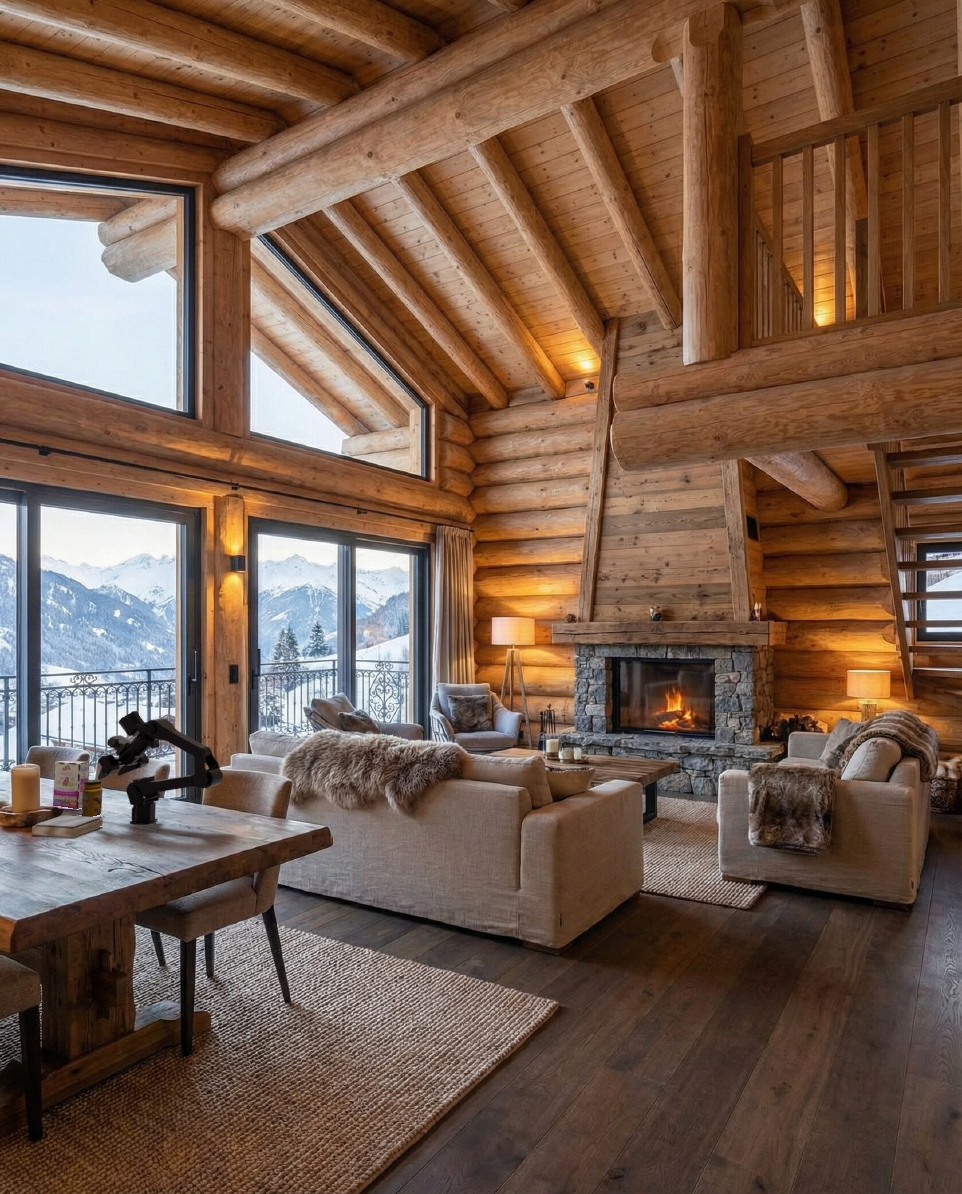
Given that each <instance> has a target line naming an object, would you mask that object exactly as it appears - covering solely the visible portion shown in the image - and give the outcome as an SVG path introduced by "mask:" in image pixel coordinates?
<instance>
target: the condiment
mask: <svg viewBox="0 0 962 1194" xmlns="http://www.w3.org/2000/svg"><path fill="white" fill-rule="evenodd" d="M102 805H103V788H102V780H98V779H89V780H87V781H85V782H84V789H83V798H82V810H81V815H82V816H83V817H93V816H97V815H100V814H101V815H102V809H103V807H102Z"/></svg>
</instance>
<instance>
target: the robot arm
mask: <svg viewBox="0 0 962 1194" xmlns="http://www.w3.org/2000/svg"><path fill="white" fill-rule="evenodd" d="M118 725H119V726H120V728H122V730H123V731H124V732H125V734H127V736H128V737H134V738H133V739H132V740H131V741H130V740H129V739H128V738H126V737H125V736H123V735H120V734H119V735H112V736H110V737H109V739H107V742H106V744H107V746H109V748H111V749H114V750H115V754H116V755H117V756H118V758H117V759H116V758H115V756H114V755H113V754H110V753H108V754H104V755H103V754H102V755H101V756H100V757H99V758H98V759H97V761H98V763H99V764H100V767H101V768H100V770H99V773H98V776H97V780H101V781H102V780H104V779H106V778H108V777H110V776H112V775H114V774H116V773H117V775H118V777H120V776H123V775H125V774H129V773H130V772H134V771H136V770H139V769H142V768H143V767H146V766H147V765H148V764H149V763H150V758H149V757H148V756H147V753H146V752H147V751H148V750H149V749H150V748H151V749H152V750H153V749H157V748H160V741H163V742H167V743H169V744H171V745H173V746H175V747H176V748H178V749H180V750H182V751H184V752H186V754H188V755H190V756H192V757H194V772H195V773H193V774H191V775H181V776H177V777H171V778H167V779H166V778H164V779H159V780H158V779H156V776H155V775H151V776H143V777H140V778H135V779H133V780H132V782H130V783H128V784H127V787H126V795H127V798H128V802H129V804H130V806H132V807H131V817H130V819H131V820H130V821H129V824H138V825H139V824H143V825H149V824H151V823H153V822H156V821H158V818H156V808H157V807H156V806H157V805H156V804H157V803H156V802H159V800H160V797H161V795H160V793H161V792H168V791H173V790H179V789H186V788H195V789H208V788H212V787H215V786H218V785H220V784H221V783H222V782H223V779H224V776H223V775H224V774H223V771H222V770H221V768H220V764H219V762H218V760H217V758H215V757H214V754H213V752H212V749H211V748H210V747H209V745H204V744H203V743H201V742H199V741H197V740H195V739H193V738H192V737H190V736H189V735H186V734H184V733H182V732H181V731H179V730H178V729H176V727H175V726H174V724H173V723H172V722H170V721H169V720H168V719H167V718H165V717H161V718H155V719H150V720H148V721H146V722H145V721H144V719H143V718H142V717H141V715H140V713H139V712H138V711H137V710H134V711H133V710H132V711H131V712H130V713H128V714H126V715H124V716H122V717H121V718H120V719H119V720H118ZM206 765H207V767H208V769H206ZM120 767H121V768H120Z"/></svg>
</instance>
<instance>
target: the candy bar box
mask: <svg viewBox="0 0 962 1194" xmlns="http://www.w3.org/2000/svg"><path fill="white" fill-rule="evenodd" d="M89 776H90V761H82V760H80V761H79V760H78V761H77V760H60V761H55V762H54V774H53V797H52V798H53V799H52V807H53V806H61V807H68V808H73V809H79V808H82V798H83V789H84V782H85V781H87V780H90V779H89V778H90V777H89Z"/></svg>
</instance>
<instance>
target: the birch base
mask: <svg viewBox="0 0 962 1194" xmlns="http://www.w3.org/2000/svg"><path fill="white" fill-rule="evenodd" d="M100 826H102V827H103V818H101V817H83V816H73V815H65V814H63V815H60V816H57V817H54V818H52V819H48V820H47V819H46V820H45V821H41V822H38V823H36V824H35V825H33V826H32V829H31V830H32V831H31V834H32V835H34V836H47V837H48V836H49V837H64V838H65V837H66V838H75V837H78V836H80V835H84V834H86V833H89V832H91V830H92V831H94V830H97V829H99V828H98V827H100ZM100 828H101V827H100Z"/></svg>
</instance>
